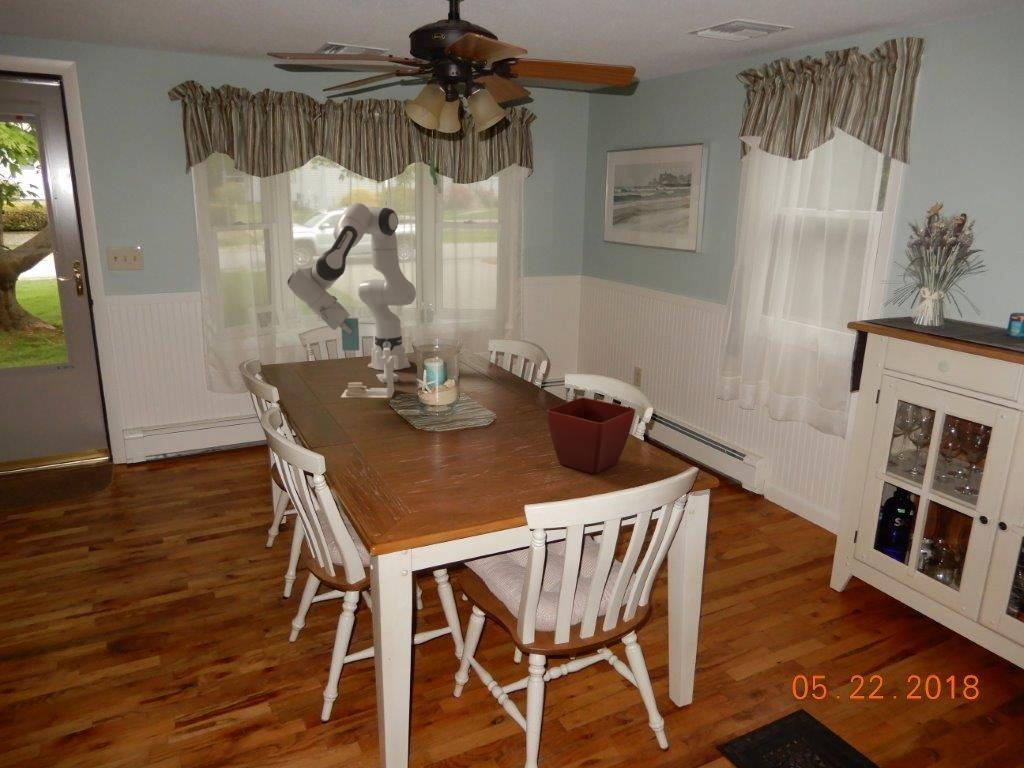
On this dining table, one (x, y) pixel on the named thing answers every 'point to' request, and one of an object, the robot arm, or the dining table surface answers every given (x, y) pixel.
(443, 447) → the dining table surface
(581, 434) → the plant pot
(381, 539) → the dining table surface
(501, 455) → the dining table surface
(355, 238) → the robot arm
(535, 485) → the dining table surface
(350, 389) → the offcut top
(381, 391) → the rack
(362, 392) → the plate
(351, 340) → the tall board
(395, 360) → the figurine
